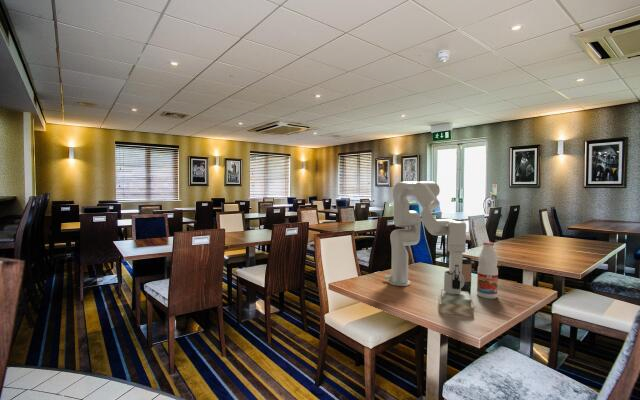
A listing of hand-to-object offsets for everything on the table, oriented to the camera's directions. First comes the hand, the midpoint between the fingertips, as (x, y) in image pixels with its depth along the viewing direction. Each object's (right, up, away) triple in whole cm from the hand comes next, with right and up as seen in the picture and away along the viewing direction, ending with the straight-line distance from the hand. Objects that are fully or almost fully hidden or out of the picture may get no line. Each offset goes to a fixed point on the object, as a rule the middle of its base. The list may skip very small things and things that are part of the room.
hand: (455, 286), depth 150 cm
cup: (0, -3, +1) cm, 3 cm away
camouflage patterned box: (0, -11, 0) cm, 11 cm away
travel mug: (+11, -10, +18) cm, 24 cm away
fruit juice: (+24, -10, +19) cm, 33 cm away
